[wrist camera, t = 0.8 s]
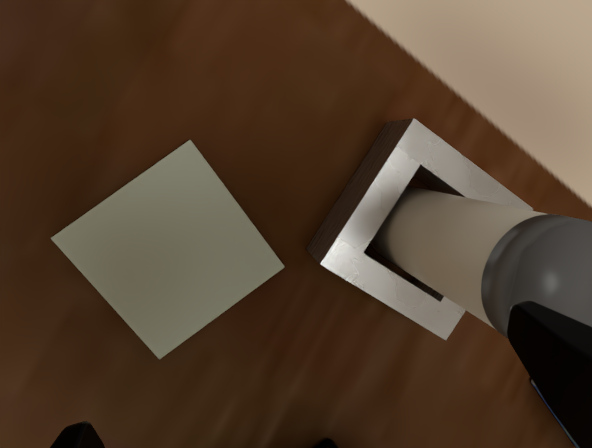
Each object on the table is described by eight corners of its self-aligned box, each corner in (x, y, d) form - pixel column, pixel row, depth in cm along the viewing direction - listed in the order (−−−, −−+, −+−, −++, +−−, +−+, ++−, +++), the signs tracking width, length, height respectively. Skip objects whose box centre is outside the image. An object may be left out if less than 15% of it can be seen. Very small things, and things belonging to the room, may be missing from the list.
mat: (283, 265, 26) (284, 266, 26) (160, 356, 26) (159, 359, 26) (190, 139, 24) (190, 139, 24) (53, 236, 24) (50, 238, 23)
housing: (418, 317, 29) (445, 340, 26) (305, 249, 27) (319, 264, 23) (494, 201, 29) (533, 208, 25) (387, 121, 26) (414, 118, 23)
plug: (452, 231, 28) (647, 301, 16) (391, 277, 28) (541, 385, 16) (414, 169, 27) (594, 190, 15) (351, 216, 27) (477, 279, 14)
